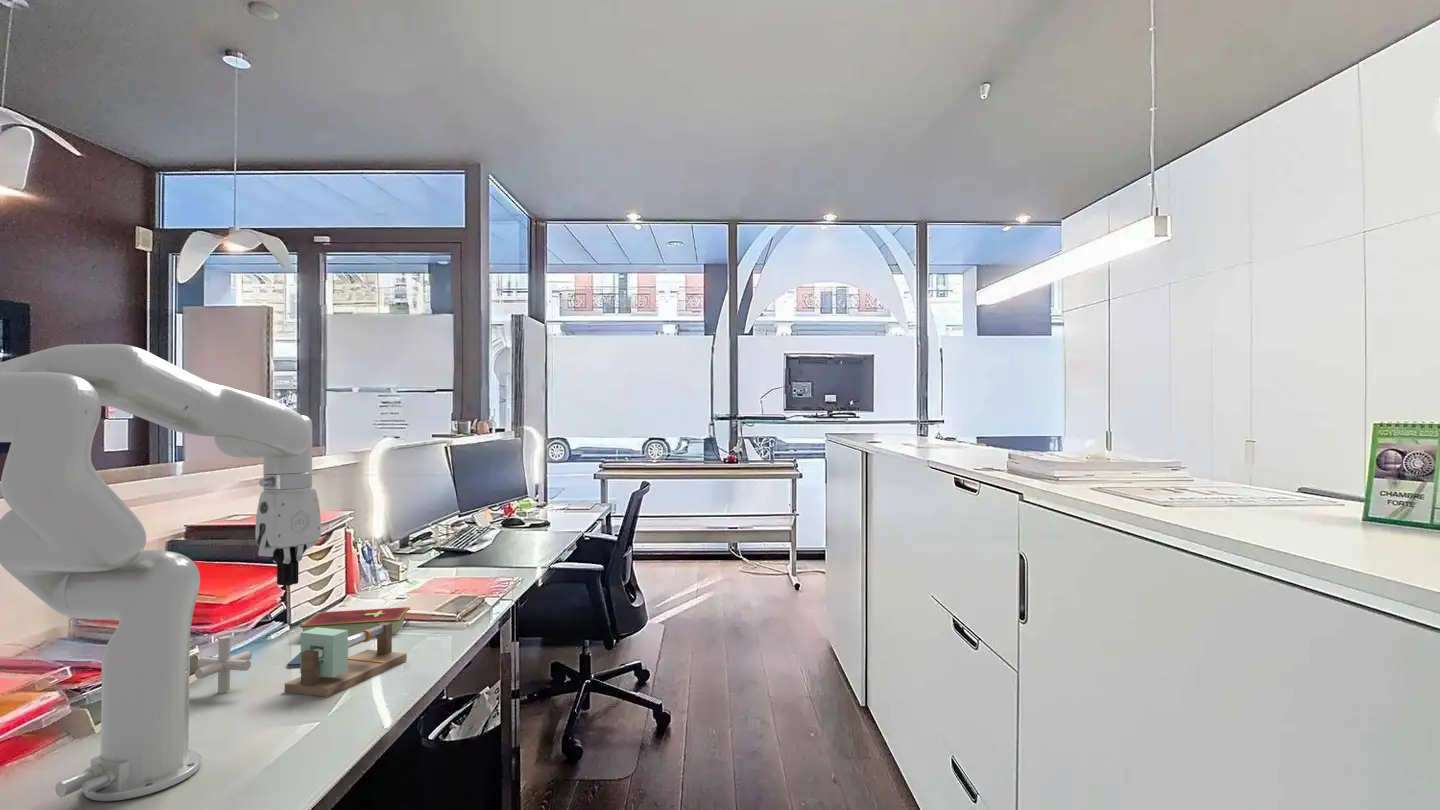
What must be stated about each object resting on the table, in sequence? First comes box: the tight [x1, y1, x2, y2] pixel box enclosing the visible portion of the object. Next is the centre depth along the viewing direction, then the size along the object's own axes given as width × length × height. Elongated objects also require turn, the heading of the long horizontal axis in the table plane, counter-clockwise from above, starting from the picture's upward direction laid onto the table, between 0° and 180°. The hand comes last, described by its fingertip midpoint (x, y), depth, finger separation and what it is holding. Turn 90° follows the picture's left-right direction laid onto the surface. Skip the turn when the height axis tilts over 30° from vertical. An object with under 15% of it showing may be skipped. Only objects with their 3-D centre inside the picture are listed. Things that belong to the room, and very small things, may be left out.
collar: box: [299, 627, 349, 677], centre depth 130 cm, size 4×8×8 cm, turn 74°
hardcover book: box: [299, 606, 411, 637], centre depth 166 cm, size 12×21×4 cm, turn 103°
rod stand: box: [284, 622, 408, 698], centre depth 136 cm, size 20×10×8 cm, turn 164°
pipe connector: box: [194, 635, 252, 694], centre depth 128 cm, size 10×10×10 cm
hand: (287, 583), depth 125 cm, fingers closed
